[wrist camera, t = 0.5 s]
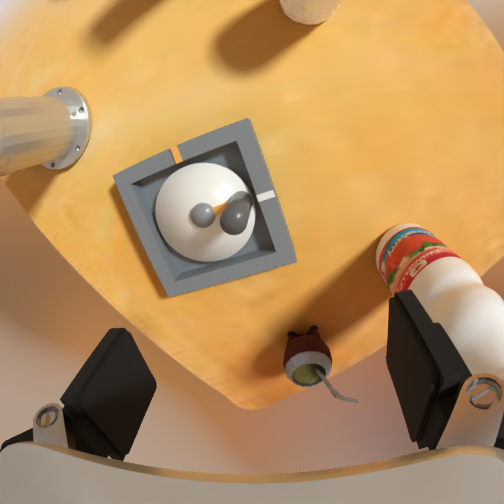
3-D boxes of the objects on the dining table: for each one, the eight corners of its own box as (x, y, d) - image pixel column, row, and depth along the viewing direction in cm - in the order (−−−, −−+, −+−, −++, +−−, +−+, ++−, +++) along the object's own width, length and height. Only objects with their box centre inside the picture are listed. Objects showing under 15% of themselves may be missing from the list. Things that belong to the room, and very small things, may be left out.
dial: (181, 268, 41) (160, 304, 33) (144, 183, 37) (110, 201, 28) (269, 242, 39) (267, 275, 30) (235, 147, 34) (222, 153, 26)
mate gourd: (275, 346, 47) (273, 421, 33) (300, 311, 44) (308, 386, 30) (314, 361, 48) (322, 434, 34) (340, 328, 45) (360, 401, 31)
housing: (175, 285, 44) (168, 298, 40) (124, 171, 37) (111, 176, 34) (294, 250, 40) (296, 262, 37) (250, 119, 34) (247, 118, 31)
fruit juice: (394, 292, 42) (474, 448, 16) (361, 250, 40) (451, 418, 14) (440, 254, 39) (554, 382, 13) (411, 207, 37) (555, 328, 11)
